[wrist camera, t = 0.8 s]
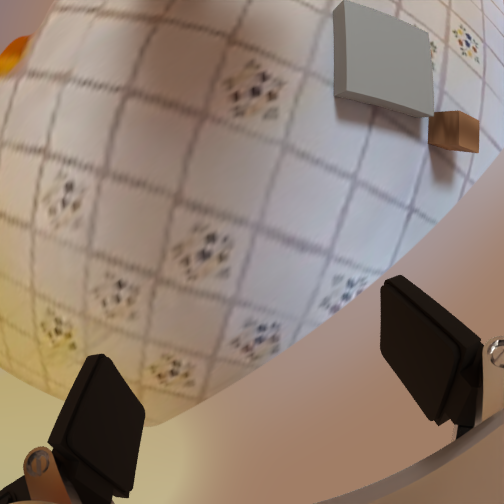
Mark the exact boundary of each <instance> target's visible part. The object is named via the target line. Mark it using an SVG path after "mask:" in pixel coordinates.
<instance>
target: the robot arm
mask: <svg viewBox="0 0 504 504" xmlns="http://www.w3.org/2000/svg"><path fill="white" fill-rule="evenodd" d="M380 293H381V335H380V337H381V339H380V350H381V353H382V355H383V357H384V358H385V360H386V361H387V362H388V364H389V365H390V366H391V368H392V369H393V370H394V372H395V373H396V374H397V376H398V377H399V379H400V380H401V381H402V383H403V384H404V385H405V387H406V388H407V390H408V391H409V393H410V394H411V395H412V397H413V398H414V400H415V401H416V402H417V404H418V405H419V407H420V408H421V410H422V411H423V412H424V414H425V415H426V417H427V418H428V419H429V420H430V421H433V420H434V421H435V422H436V424H437V425H438V426H439V425H441V424H443V423H444V422H446V421H447V420H449V419H451V421H452V422H453V423H454V431H453V437H452V442H451V443H450V444H449V445H447V446H445V447H444V448H442V449H440V450H439V451H437V452H435V453H434V454H432V455H430V456H428V457H426V458H425V459H423V460H421V461H419V462H417V463H415V464H414V465H412V466H410V467H408V468H406V469H404V470H402V471H400V472H398V473H396V474H393V475H391V476H389V477H387V478H385V479H383V480H380V481H378V482H375V483H373V484H370V485H368V486H365V487H363V488H360V489H358V490H355V491H352V492H350V493H347V494H344V495H341V496H338V497H335V498H332V499H328V500H325V501H321V502H318V503H314V504H504V336H498V337H494V338H492V339H490V340H489V341H488V342H487V343H485V345H483V344H482V343H481V342H480V341H481V339H480V338H479V337H478V336H477V335H476V334H475V333H473V332H472V331H471V330H470V329H469V328H468V327H466V326H465V325H464V324H463V323H462V322H461V321H459V320H458V319H457V318H456V317H455V316H453V315H452V314H451V313H449V311H447V310H446V309H445V308H444V307H442V306H441V305H440V304H439V303H437V302H436V301H435V300H433V299H432V298H431V297H430V296H428V295H427V294H426V293H424V292H423V291H422V290H421V289H419V288H418V287H417V286H416V285H414V284H413V283H412V282H410V281H409V280H408V279H406V278H405V277H404V276H402V275H398V276H395V277H393V278H390V279H387V280H385V282H384V286H382V287H381V291H380ZM144 420H145V410H144V407H143V406H142V404H141V403H140V402H139V400H138V399H137V397H136V396H135V395H134V393H133V392H132V390H131V389H130V388H129V386H128V385H127V383H126V382H125V380H124V379H123V377H122V376H121V374H120V373H119V371H118V370H117V368H116V367H115V365H114V364H113V362H112V360H111V359H110V358H109V357H106V356H105V355H104V354H97V355H90V356H88V357H87V358H86V360H85V362H84V364H83V366H82V368H81V370H80V372H79V374H78V376H77V378H76V380H75V382H74V384H73V386H72V388H71V390H70V392H69V394H68V396H67V398H66V401H65V403H64V405H63V407H62V409H61V412H60V414H59V416H58V419H57V420H56V423H55V425H54V428H53V430H52V432H51V435H50V437H49V439H48V443H49V444H50V445H51V446H52V447H53V450H52V451H51V450H49V449H48V448H47V447H37V448H34V449H33V450H32V451H30V452H29V454H28V455H27V456H26V458H25V460H24V464H23V470H24V476H22V477H20V478H19V479H17V480H16V481H14V482H13V483H11V484H9V485H8V486H6V487H5V488H3V489H2V490H1V491H0V504H114V502H113V501H112V496H113V495H114V496H115V497H121V498H129V492H130V491H131V490H132V489H133V484H134V478H135V470H136V464H137V459H138V453H139V447H140V441H141V436H142V430H143V425H144Z"/></svg>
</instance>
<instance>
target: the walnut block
mask: <svg viewBox="0 0 504 504" xmlns="http://www.w3.org/2000/svg"><path fill="white" fill-rule="evenodd" d="M428 144H431V145H435V146H438V147H441V148H444V149H447V150H454V151H464V152H472V153H479V120H477V119H475V118H473V117H471V116H469V115H467V114H465V113H463V112H461V111H445V112H434V117H429V124H428Z"/></svg>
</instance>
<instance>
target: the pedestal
mask: <svg viewBox="0 0 504 504" xmlns="http://www.w3.org/2000/svg"><path fill="white" fill-rule="evenodd" d="M333 24H334V96H336V97H341V98H346V99H350V100H355V101H359V102H364V103H368V104H372V105H375V106H379V107H383V108H387V109H390V110H394V111H397V112H400V113H404V114H407V115H410V116H413V117H416V118H421V117H434V91H433V72H432V60H431V50H430V42H429V35H428V33H427V32H425V31H423V30H421V29H419V28H417V27H415V26H413V25H411V24H409V23H407V22H404V21H402V20H400V19H397V18H395V17H393V16H390V15H388V14H385V13H382V12H380V11H377V10H374V9H372V8H369V7H366V6H363V5H360V4H357V3H354V2H350V1H347V0H343V1H342V2H341V3H340V4H339V5H338V6H337V7H336V8H335V9H334V11H333Z"/></svg>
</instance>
